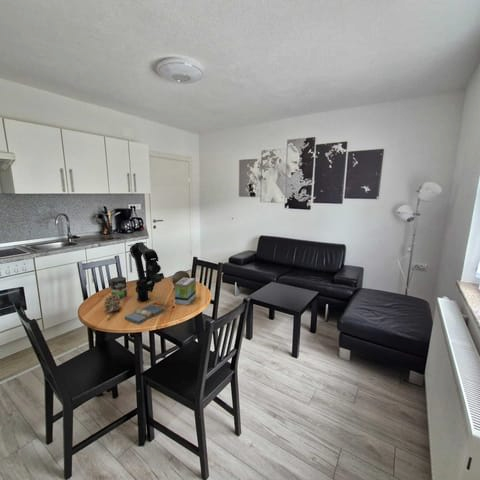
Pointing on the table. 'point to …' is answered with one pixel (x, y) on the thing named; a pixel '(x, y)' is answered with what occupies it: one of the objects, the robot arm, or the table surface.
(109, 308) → the pine cone
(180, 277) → the cantaloupe
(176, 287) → the tea box
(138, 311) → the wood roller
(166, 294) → the table surface
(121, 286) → the coffee can
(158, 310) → the slate board
